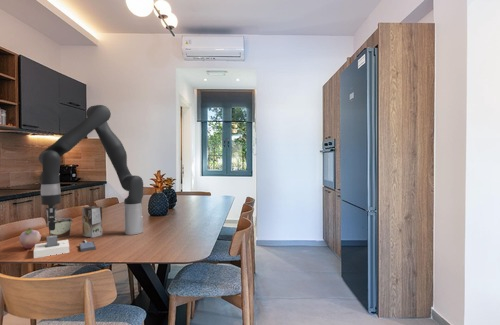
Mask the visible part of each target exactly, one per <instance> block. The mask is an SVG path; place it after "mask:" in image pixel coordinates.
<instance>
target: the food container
mask: <svg viewBox="0 0 500 325" xmlns="http://www.w3.org/2000/svg"><path fill="white" fill-rule="evenodd" d="M72 222H73V218H72V217H59V218H55V230H51V231H50V230H49V229H48V232H49V236H54V235H57V240H60V239H64V238H67V237H71V229H72ZM46 223H47V224H46V226H47V227H48V228H49V222H48V221H47V222H46Z"/></svg>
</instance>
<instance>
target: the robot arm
mask: <svg viewBox="0 0 500 325" xmlns="http://www.w3.org/2000/svg"><path fill="white" fill-rule="evenodd" d="M110 118H111V109H109V107H108V106H106V105H105V104H104V105H102V104H97V105H96V104H95V105H92V106H89V107H88V108H87V109H86V118H84V120H83V121H81V122H80V123H78V124H77V125H75V126H73V127H72V128H71V129H69V130H67V131H66V132H65V133H64V134H63V135H62V136H60V137H59V138H58V139H57V140H55V142H53V144H51V145H49V146H48V147H47V148H45V149H44V150H43V151H42V152H41V153H39V156H38V161H39V163H40V164H42V171H41V174H40V204H41V205H43V206H48V207H46V208H45V210H46V211H45V212H46V219H48V220H47V222H49V227H48V231H49V230H50V231H51V230H55V219H56V217H57V212H58V211H57V210H58V209H57V206H56V205H57V204H61V203H62V195H61V193H62V192H61V184H60V169H61V168H60V167H61V157H62V156H64V155H65V154H67V153H69V152H70V151H71V150H72V149H73V148H75V147H76V146H77V145H78V144H79V143H80V142H81V141H82V140H83V139H85V138H86V137H87V136H88V135H89V134H91V133H92V132H93V131H95V133H96V134H97V136H98V138H99V140H100V143H101V145H102V146H103V148H104V151H105V153H106V155H107V157H108V158H109V161H110V162H111V165H112V167H113V169H114V171H115V172H116V174H117V178H118V181H119V184H120V187H121V188H122V189H123V190H124V191H126V192H128V194H127V197H126V198H124V202H123V203H124V204H123V206H124V210H123V211H124V234H125V235H127V236H128V235H138V234H142V233H144V217H143V215H142V213H143V211H142V210H143V209H142V206H143V205H142V200H143V198H144V180H143V179H142V177H141V176H139V175H132V174H131V172H130V169H129V166H128V160H127V159H128V156H127V152H126V149H125V147H124V145H123V142H122V141H121V140H120V139H119V137H118V136H117V135H116V134H115V132H114V131H113V130H112V129H111V127H110V125H109V124H108V121H110V120H109V119H110Z"/></svg>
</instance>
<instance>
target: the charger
mask: <svg viewBox="0 0 500 325" xmlns="http://www.w3.org/2000/svg"><path fill="white" fill-rule="evenodd" d="M57 241H58V239H57V235H54V236H50V235H47V236H46V243H47V247H53V246H57Z"/></svg>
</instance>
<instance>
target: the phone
mask: <svg viewBox="0 0 500 325" xmlns="http://www.w3.org/2000/svg"><path fill="white" fill-rule="evenodd" d="M83 241H84V242H79V244H78V245H79V249H80V252H82V253H84V252H87V251H88V252H89V251H93V250H96V248H97V246H96V245H95V242H94V241H87V239H84V240H83Z"/></svg>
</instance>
